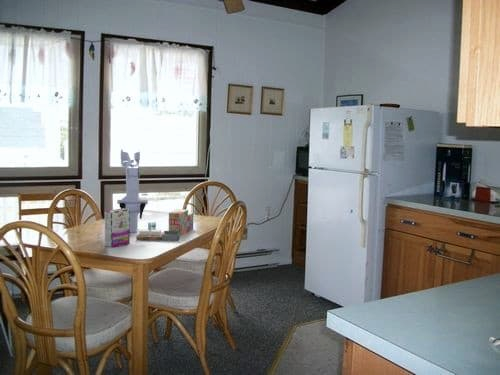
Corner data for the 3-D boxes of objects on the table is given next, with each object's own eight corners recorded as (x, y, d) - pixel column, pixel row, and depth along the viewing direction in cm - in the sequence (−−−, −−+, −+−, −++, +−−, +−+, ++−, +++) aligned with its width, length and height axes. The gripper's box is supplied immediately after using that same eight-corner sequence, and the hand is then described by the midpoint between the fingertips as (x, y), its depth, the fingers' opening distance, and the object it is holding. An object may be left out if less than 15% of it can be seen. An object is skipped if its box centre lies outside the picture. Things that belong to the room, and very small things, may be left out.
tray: (161, 240, 231) (161, 234, 231) (164, 236, 241) (164, 230, 241) (178, 241, 231) (178, 235, 231) (180, 236, 241) (180, 231, 241)
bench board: (136, 240, 230) (136, 236, 230) (140, 235, 241) (140, 231, 240) (161, 241, 230) (161, 237, 230) (163, 236, 241) (163, 232, 241)
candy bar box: (122, 242, 225) (122, 207, 224) (130, 243, 223) (130, 209, 221) (103, 246, 216) (104, 210, 214) (111, 247, 213) (111, 211, 212)
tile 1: (139, 235, 233) (139, 231, 233) (140, 233, 237) (140, 229, 237) (148, 235, 233) (148, 231, 233) (149, 233, 238) (149, 229, 237)
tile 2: (150, 235, 233) (150, 231, 233) (151, 233, 238) (151, 229, 237) (159, 235, 233) (159, 231, 233) (161, 233, 238) (161, 229, 238)
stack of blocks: (182, 228, 264) (183, 206, 263) (193, 229, 263) (194, 207, 261) (168, 236, 243) (168, 212, 242) (179, 236, 242) (180, 213, 241)
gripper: (116, 191, 228) (116, 219, 229) (147, 191, 230) (146, 219, 231) (118, 190, 235) (118, 218, 236) (148, 190, 237) (148, 218, 238)
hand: (132, 218), depth 234 cm, fingers open, 7 cm apart
